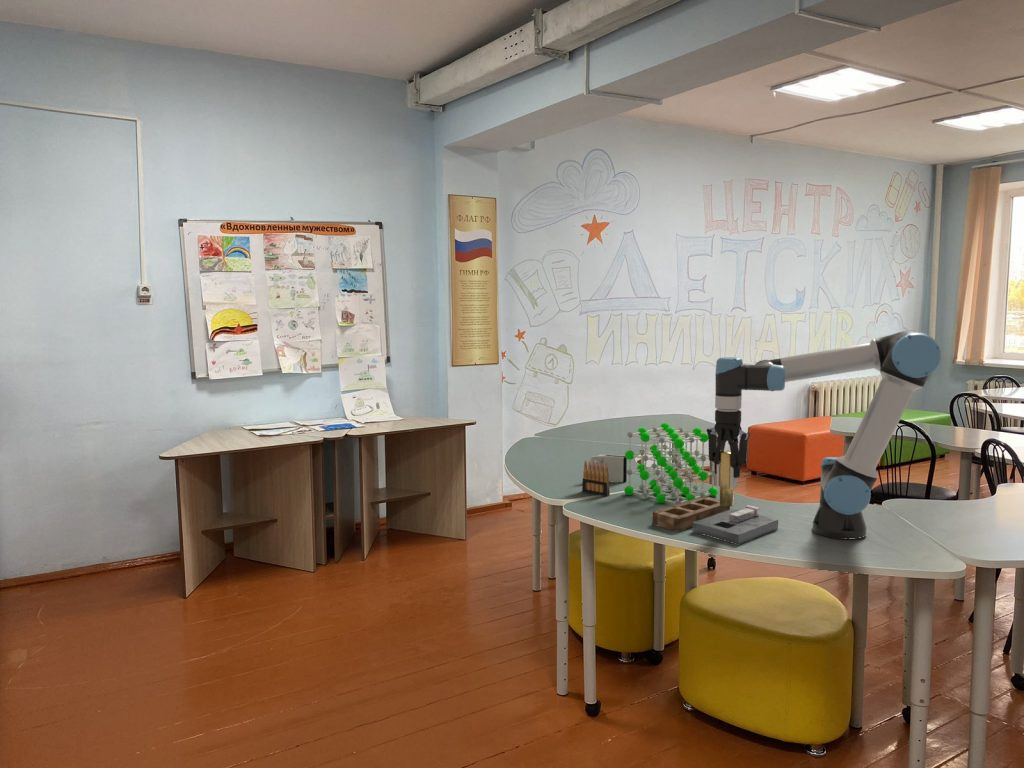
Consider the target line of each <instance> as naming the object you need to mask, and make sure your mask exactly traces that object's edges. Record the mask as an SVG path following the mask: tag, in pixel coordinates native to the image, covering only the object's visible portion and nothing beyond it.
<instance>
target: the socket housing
mask: <svg viewBox="0 0 1024 768" xmlns="http://www.w3.org/2000/svg"><path fill="white" fill-rule="evenodd" d="M740 510H741V509H736V508H730V510H728V511H725V512H722V513H719V514H716V515H713V516H710V517H707V518H704V519H701V520H698V521H695V522H693V527H692V530H691V531H693V532H692V533H694V532H697V533H696V534H698V533H700V534H699V535H702V534H705V535H709V536H712V537H716V538H719V539H722V540H721V541H723V540H726V541H725V542H727V541H729V542H728V543H730V542H733V543H732V544H734V543H736V544H735V545H737V544H739V545H742V544H744V543H747V542H749V541H752V540H754V539H757V538H759V537H762V536H764V535H766V533H767V534H769V533H771V531H772V532H774V531H776V529H777V530H778V529H779V519H778V518H774V517H768V516H766V515H765V516H764V515H761V514H759V516H755V517H752V518H749V519H746V520H744V521H741V522H738V523H737V522H733V521H729V514H731V513H734V512H737V511H740ZM773 530H774V531H773ZM768 532H769V533H768ZM763 534H764V535H763ZM705 535H704V536H705ZM761 535H762V536H761ZM709 536H708V537H709ZM712 537H711V538H712ZM756 537H757V538H756ZM716 538H715V539H716ZM719 539H718V540H719ZM751 539H752V540H751ZM746 541H747V542H746ZM741 543H742V544H741Z"/></svg>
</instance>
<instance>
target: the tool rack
mask: <svg viewBox="0 0 1024 768" xmlns="http://www.w3.org/2000/svg"><path fill="white" fill-rule="evenodd" d="M728 510H731V506H729V507H727V506H721V505H720V498H719V499H718V498H714V497H711V496H710V497H709V496H707V495H706V496H703V497H699V498H696V499H693V500H690V501H687V502H684V503H680V504H677V505H676V504H675V505H671V506H668V507H665V508H662V509H659V510H655V511H652V521H651V522H652V523H651V525H653V524H655V525H654V526H656V525H658V526H657V527H660V526H661V527H660V528H664V527H665V528H664V529H667V528H669V529H668V530H671V529H672V530H671V531H674V530H675V532H682V531H684V529H685V530H687V528H688V529H690V527H691V528H693V527H692V526H693V522H695V521H698V520H701V519H704V518H707V517H710V516H713V515H716V514H719V513H722V512H725V511H728ZM681 530H682V531H681Z"/></svg>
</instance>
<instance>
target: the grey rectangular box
mask: <svg viewBox="0 0 1024 768" xmlns="http://www.w3.org/2000/svg"><path fill="white" fill-rule="evenodd" d="M593 461H594V462H595V469H596V466H597V462H599V467H600V470H601V463H603V466H604V473H605V465H606V463H607V465H608V475H609V481H614V482H613V483H618V482H623V483H624V482H626V483H627V478H628V477H627V476H628V474H627V470H628V468H627V467H628V459H626V457H625V455H621V454H619V455H617V454H598V455H595V456H594V455H593V456H590V462H591V470H592V464H593Z"/></svg>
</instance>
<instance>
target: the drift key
mask: <svg viewBox="0 0 1024 768" xmlns="http://www.w3.org/2000/svg"><path fill="white" fill-rule="evenodd" d="M739 510H740V511H737V512H734V513H731V514H729V521H733V522H737V523H738V522H741V521H744V520H746V519H749V518H752V517H755V516H759V515H761V511H760V510H761V507H758V506H753V505H748V504H747V505H746V506H745V508H743V509H739Z"/></svg>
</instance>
